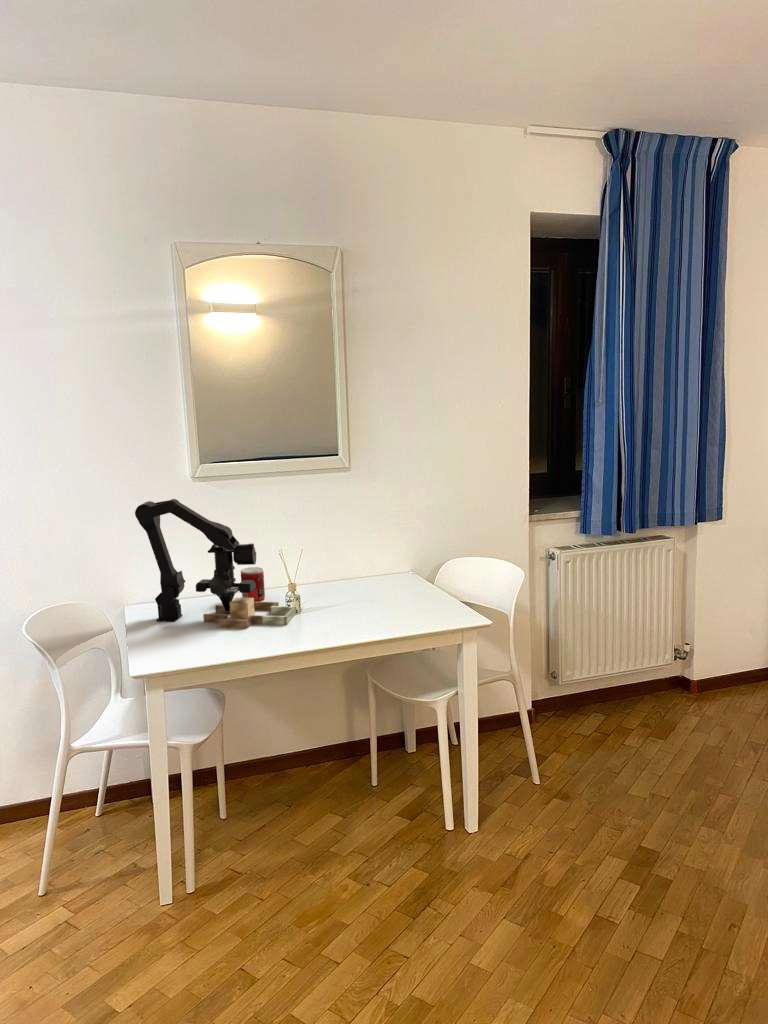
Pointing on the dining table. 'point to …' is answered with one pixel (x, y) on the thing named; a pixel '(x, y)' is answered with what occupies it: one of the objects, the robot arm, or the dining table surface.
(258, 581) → the canned food
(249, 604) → the block
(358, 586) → the dining table surface
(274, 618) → the channel
